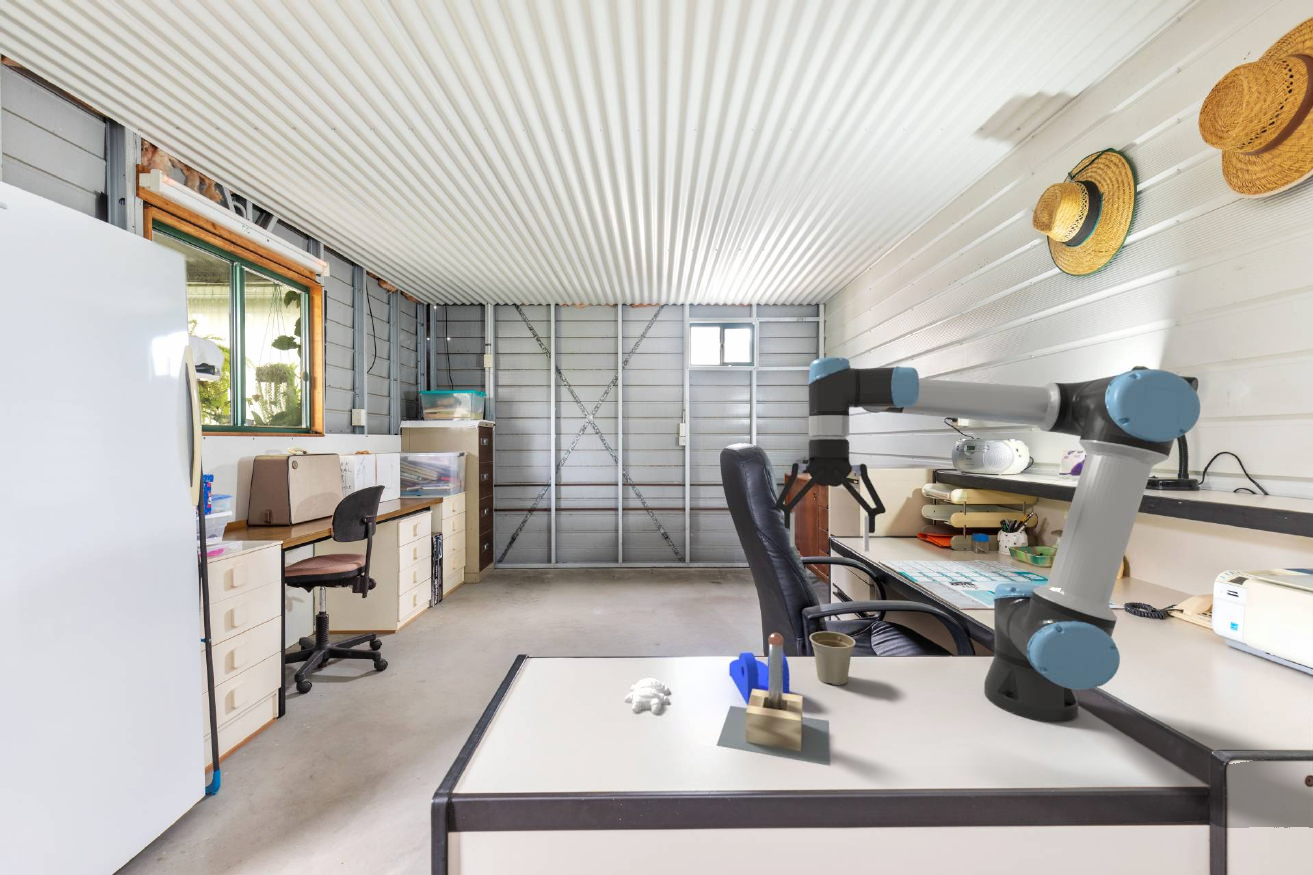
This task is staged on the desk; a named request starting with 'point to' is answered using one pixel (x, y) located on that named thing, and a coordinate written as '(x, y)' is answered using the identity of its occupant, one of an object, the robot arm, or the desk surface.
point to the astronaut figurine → (648, 695)
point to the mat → (811, 747)
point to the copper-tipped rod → (775, 671)
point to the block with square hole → (774, 721)
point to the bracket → (754, 674)
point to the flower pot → (832, 656)
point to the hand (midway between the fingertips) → (828, 547)
